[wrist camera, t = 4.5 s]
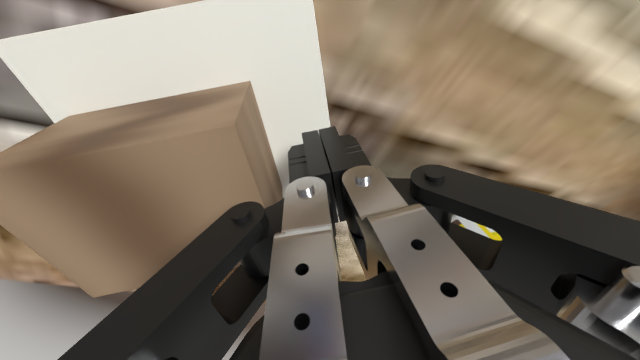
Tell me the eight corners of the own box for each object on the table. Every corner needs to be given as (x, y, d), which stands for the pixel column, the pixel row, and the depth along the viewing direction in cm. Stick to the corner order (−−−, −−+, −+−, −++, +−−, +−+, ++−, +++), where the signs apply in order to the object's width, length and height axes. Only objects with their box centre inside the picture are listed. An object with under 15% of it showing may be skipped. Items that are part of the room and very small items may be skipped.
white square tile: (308, -19, 10) (310, -20, 9) (341, 208, 17) (342, 212, 16) (-3, 40, 10) (-13, 41, 9) (161, 245, 17) (159, 250, 16)
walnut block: (250, 80, 11) (233, 125, 7) (282, 187, 15) (283, 257, 11) (68, 116, 11) (-55, 181, 7) (145, 214, 14) (93, 297, 10)
